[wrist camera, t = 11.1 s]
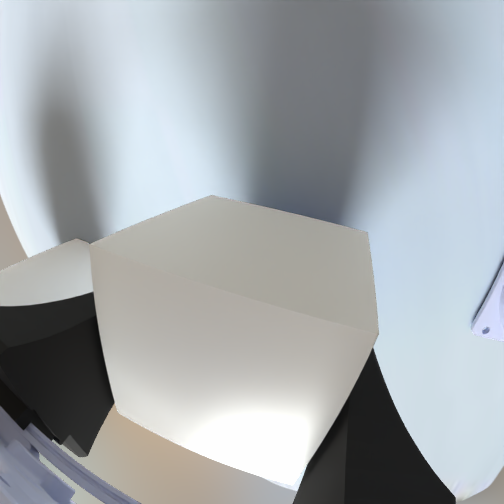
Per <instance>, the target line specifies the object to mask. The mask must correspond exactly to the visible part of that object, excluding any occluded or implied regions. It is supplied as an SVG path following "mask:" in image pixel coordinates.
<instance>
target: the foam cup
mask: <svg viewBox="0 0 504 504" xmlns="http://www.w3.org/2000/svg"><path fill="white" fill-rule="evenodd" d="M90 292H93V283H92V273H91V262H90V248H89V243H88V242H85V241H83V240H80V239H77V238H76V239H74V240H71V241H68V242H66V243H63V244H61V245H58V246H56V247H53V248H51V249H49V250H46V251H44V252H41V253H39V254H37V255H34V256H32V257H30V258H27V259H25V260H23V261H21V262H19V263H16V264H14V265H12V266H10V267H7V268H5V269H3V270H1V271H0V306H23V305H34V304H42V303H47V302H53V301H59V300H64V299H68V298H72V297H76V296H80V295H83V294H87V293H90Z"/></svg>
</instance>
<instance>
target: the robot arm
mask: <svg viewBox="0 0 504 504" xmlns="http://www.w3.org/2000/svg"><path fill="white" fill-rule="evenodd" d="M486 327H487V328H486ZM484 328H486V329H485V330H483V329H484ZM471 330H472V333H473V334H474V335H476V336H481V337H485V338H489V339H494V340H498V341H502V342H504V262H503V265H502V267H501V269H500V271H499V273H498V276H497V278H496V280H495V282H494V284H493V286H492V288H491V290H490V292H489V294H488V296H487V298H486V300H485V301H484V303H483V305H482V307H481V309H480V311H479V312H478V314H477V316H476V318H475V319H474V321H473V323H472V325H471ZM114 403H115V401H114V397H113V393H112V389H111V385H110V381H109V377H108V373H107V368H106V364H105V359H104V354H103V349H102V344H101V338H100V333H99V327H98V321H97V314H96V307H95V300H94V292H90V293H87V294H83V295H80V296H76V297H72V298H68V299H64V300H59V301H53V302H47V303H42V304H34V305H23V306H0V504H76V503H75V502H73V501H72V500H71V498H72V496H73V495H74V494H75V490H74V489H73V488H72V487H70V486H69V485H68V484H67V483H66V482H64V481H63V480H62V479H61V478H59V477H58V476H57V475H56V474H55V473H53V472H52V471H51V470H49V469H48V468H47V467H46V466H45V465H44V464H43V463H41V462H40V460H39V452H40V453H41V454H42V455H43V456H44V457H45V458H46V459H47V460H49V461H50V462H51V463H52V464H53V465H54V466H55V467H57V468H58V469H59V470H60V471H61V472H63V473H64V474H65V475H66V476H68V477H69V478H70V479H71V480H73V481H74V482H75V483H77V484H78V485H79V486H81V487H82V488H83V489H85V490H86V491H87V492H89V493H91V494H92V495H93V496H95V497H96V498H97V499H99V500H100V501H102V502H103V503H105V504H141V503H139V502H138V501H136V500H134V499H133V498H131V497H129V496H127V495H126V494H124V493H122V492H121V491H119V490H117V489H116V488H114V487H113V486H111V485H110V484H108V483H106V482H105V481H103V480H102V479H100V478H99V477H98V476H96V475H95V474H93V473H92V472H90V471H89V470H87V469H86V468H85V467H83V466H82V465H81V464H79V463H78V462H77V461H75V460H74V459H73V458H72V457H70V456H69V455H68V454H66V453H65V452H64V451H63V450H62V449H60V448H59V447H58V446H57V445H56V444H54V443H53V442H52V440H53V439H54V440H55V441H56V442H57V443H58V444H60V445H62V444H63V445H64V446H65V447H67V448H68V449H69V450H70V451H72V452H73V453H74V454H76V455H77V456H78V457H86V456H88V454H89V452H90V449H91V447H92V445H93V443H94V440H95V438H96V436H97V434H98V432H99V430H100V428H101V426H102V424H103V422H104V420H105V419H106V417H107V415H108V413H109V411H110V410H111V408H112V406H113V404H114ZM38 451H39V452H38ZM293 504H456V497H455V496H454V495H453V494H452V493H451V492H450V490H449V489H448V488H447V487H446V486H445V485H444V483H443V482H442V481H441V480H440V479H439V477H438V476H437V475H436V474H435V472H434V471H433V470H432V468H431V467H430V465H429V464H428V463H427V461H426V460H425V458H424V457H423V455H422V454H421V452H420V451H419V449H418V447H417V446H416V444H415V442H414V441H413V439H412V438H411V436H410V434H409V433H408V431H407V429H406V427H405V425H404V423H403V421H402V419H401V417H400V415H399V413H398V411H397V409H396V407H395V405H394V403H393V400H392V398H391V396H390V393H389V391H388V388H387V386H386V383H385V381H384V378H383V375H382V373H381V370H380V367H379V364H378V361H377V358H376V355H375V352H374V349H373V348H372V350H371V352H370V355H369V357H368V359H367V361H366V363H365V365H364V367H363V369H362V371H361V373H360V375H359V377H358V379H357V381H356V383H355V385H354V387H353V389H352V391H351V392H350V394H349V396H348V398H347V400H346V402H345V403H344V405H343V407H342V409H341V411H340V412H339V414H338V416H337V418H336V419H335V421H334V423H333V424H332V426H331V428H330V429H329V431H328V433H327V434H326V436H325V438H324V439H323V441H322V442H321V444H320V446H319V447H318V449H317V450H316V452H315V453H314V455H313V456H312V458H311V459H310V461H309V462H308V464H307V467H306V470H305V473H304V476H303V479H302V481H301V484H300V487H299V489H298V492H297V494H296V497H295V499H294V502H293Z"/></svg>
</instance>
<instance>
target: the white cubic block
mask: <svg viewBox="0 0 504 504" xmlns="http://www.w3.org/2000/svg"><path fill="white" fill-rule="evenodd" d="M89 248H90V262H91V273H92V283H93V292H94V300H95V307H96V314H97V321H98V327H99V333H100V338H101V344H102V349H103V354H104V359H105V364H106V368H107V373H108V377H109V381H110V385H111V389H112V393H113V397H114V401H115V405H116V408H117V412H118V413H120V414H121V415H123V416H124V417H126V418H128V419H130V420H132V421H133V422H135V423H137V424H139V425H140V426H142V427H144V428H146V429H148V430H150V431H152V432H154V433H156V434H158V435H159V436H161V437H164V438H166V439H168V440H170V441H172V442H174V443H176V444H178V445H180V446H182V447H185V448H187V449H189V450H191V451H194V452H196V453H198V454H201V455H203V456H206V457H208V458H211V459H213V460H216V461H218V462H221V463H223V464H226V465H229V466H232V467H234V468H237V469H240V470H243V471H246V472H249V473H252V474H255V475H258V476H262V477H265V478H268V479H272V480H275V481H279V482H283V483H286V484H290V485H293V484H294V482H295V481H296V480H297V478H298V477H299V475H300V474H301V473H302V471H303V470H304V468H305V467H306V465H307V464H308V462H309V461H310V459H311V458H312V456H313V455H314V453H315V452H316V450H317V449H318V447H319V446H320V444H321V442H322V441H323V439H324V438H325V436H326V434H327V433H328V431H329V429H330V428H331V426H332V424H333V423H334V421H335V419H336V418H337V416H338V414H339V412H340V411H341V409H342V407H343V405H344V403H345V402H346V400H347V398H348V396H349V394H350V392H351V391H352V389H353V387H354V385H355V383H356V381H357V379H358V377H359V375H360V373H361V371H362V369H363V367H364V365H365V363H366V361H367V359H368V357H369V355H370V352H371V350H372V348H373V346H374V344H375V342H376V339H377V337H378V335H379V328H378V315H377V303H376V293H375V284H374V275H373V267H372V259H371V252H370V245H369V239H368V232H365V231H361V230H357V229H353V228H350V227H346V226H342V225H338V224H334V223H330V222H326V221H322V220H319V219H314V218H310V217H306V216H302V215H298V214H294V213H290V212H286V211H281V210H277V209H273V208H268V207H264V206H260V205H255V204H251V203H246V202H242V201H237V200H232V199H228V198H223V197H218V196H213V195H210V196H207V197H205V198H202V199H199V200H196V201H194V202H191V203H188V204H186V205H183V206H180V207H178V208H175V209H173V210H170V211H167V212H165V213H162V214H160V215H157V216H155V217H152V218H150V219H147V220H145V221H142V222H140V223H137V224H135V225H133V226H130V227H128V228H125V229H123V230H121V231H118V232H116V233H114V234H111V235H109V236H107V237H104V238H102V239H100V240H97V241H95V242H93V243H91V244H89Z"/></svg>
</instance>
